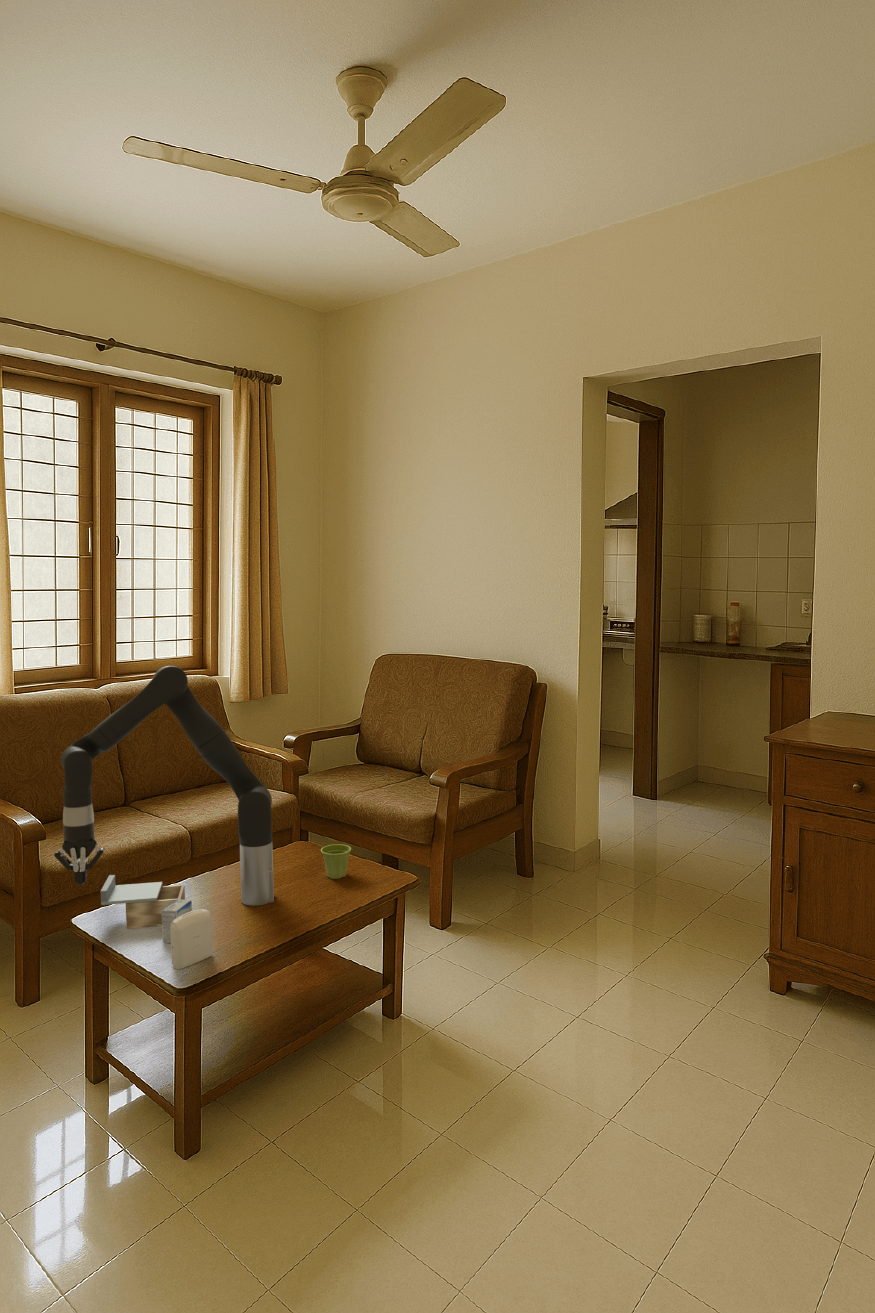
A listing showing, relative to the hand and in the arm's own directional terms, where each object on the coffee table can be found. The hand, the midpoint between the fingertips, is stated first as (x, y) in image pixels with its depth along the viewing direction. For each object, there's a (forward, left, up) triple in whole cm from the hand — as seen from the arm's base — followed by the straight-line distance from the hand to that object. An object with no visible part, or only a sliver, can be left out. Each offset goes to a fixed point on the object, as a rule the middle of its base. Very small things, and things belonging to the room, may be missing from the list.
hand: (80, 883), depth 220 cm
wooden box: (-19, 0, -11) cm, 22 cm away
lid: (-13, 0, -4) cm, 14 cm away
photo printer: (-31, +29, -12) cm, 44 cm away
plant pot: (-70, -22, -12) cm, 75 cm away
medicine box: (-26, +14, -12) cm, 32 cm away
